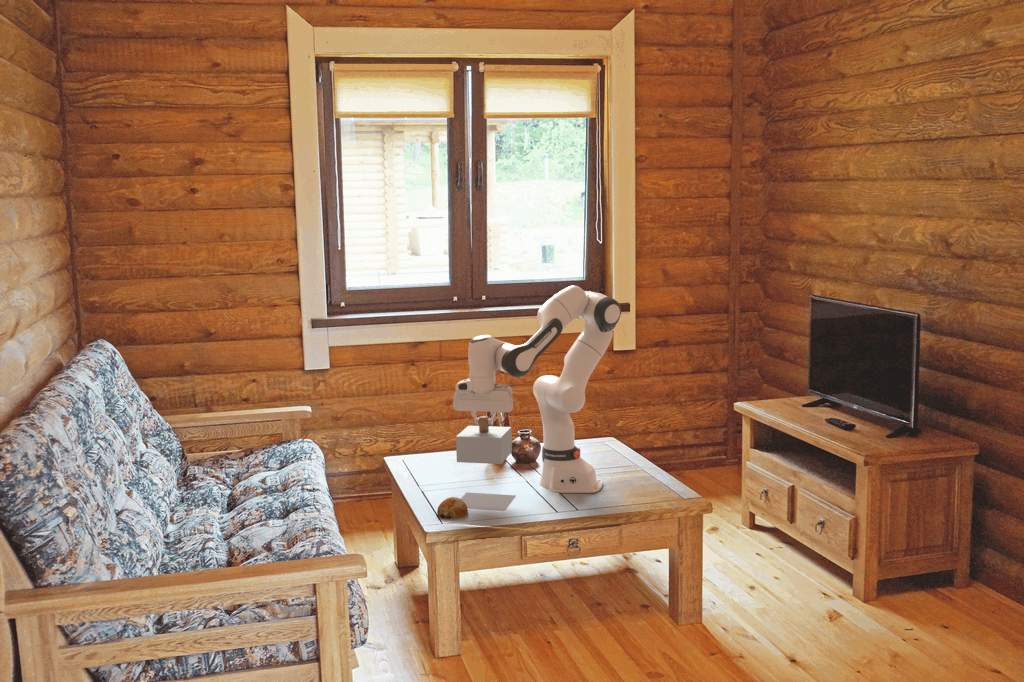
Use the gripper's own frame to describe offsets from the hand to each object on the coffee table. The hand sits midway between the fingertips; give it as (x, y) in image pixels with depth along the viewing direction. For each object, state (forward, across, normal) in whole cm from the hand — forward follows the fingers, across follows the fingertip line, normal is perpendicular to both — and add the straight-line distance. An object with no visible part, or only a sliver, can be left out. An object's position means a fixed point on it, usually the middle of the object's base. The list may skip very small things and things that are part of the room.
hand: (483, 423), depth 345 cm
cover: (+12, 0, 0) cm, 12 cm away
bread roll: (+28, +8, +15) cm, 32 cm away
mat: (+28, 0, 0) cm, 28 cm away
